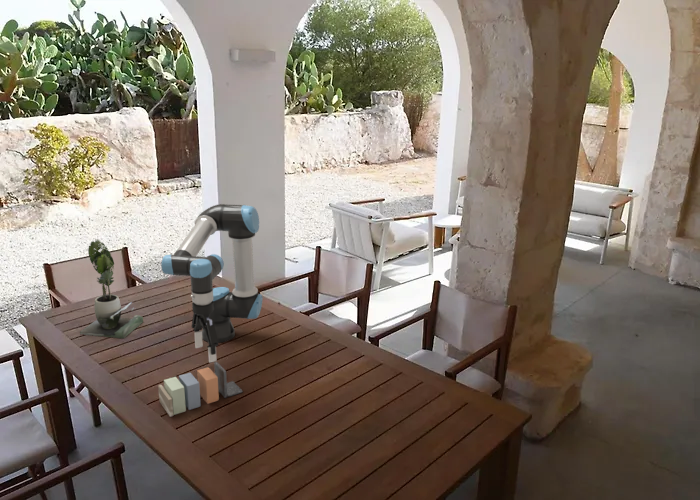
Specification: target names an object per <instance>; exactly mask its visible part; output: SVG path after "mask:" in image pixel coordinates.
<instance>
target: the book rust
mask: <svg viewBox="0 0 700 500" xmlns="http://www.w3.org/2000/svg"><path fill="white" fill-rule="evenodd" d="M196 374H197V381H198V382H199V387H200V398H202V399H203V400H204V402H205V403H206V404H207V405H209V404H212V403H214V402H217V401H219V399H220V397H219V395H220V392H219V391H218V377H217V376H216V375H215V372H214V371H213V370H212V369H211V368H209V367H205V368H204V367H203V368H201V369H197V370H196Z"/></svg>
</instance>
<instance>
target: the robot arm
mask: <svg viewBox="0 0 700 500" xmlns="http://www.w3.org/2000/svg"><path fill="white" fill-rule="evenodd" d="M259 229H260V218H259V213H258V211H257V209H256V208H255V207H254V206H252V205H246V204H225V203H220V204H215V205H212V206H210V207H208V208H206V209H205V210H203V211H202V212H201V213H200V214H199V215H198V216H197V217H196V219H195V220H194V226H192V229H191V230H190V231H189V233H188V234H187V235H186V237H185V238H184V240H183V241H182V242H181V244H180V245H179V246H178V248H177V250H175V252H174V253H173V254H166V255H164V256H163V257H162V260H161V265H160V266H161V271H162V272H163V274H165V275H171V276H188V277H190V286H191V289H190V290H191V295H190V298H191V301H192V306H191V308H192V313H193V315H192V316H193V317H192V320H191V321H192V322H191V328H192V329H193V332H194V345H195V346H194V348H195V349H199V348H202V347H203V346H204V345H203V343H204V342H203V341H205V342H207V343H208V345H207V352H208V354H207V355H208V363H214V362H216V361H217V347H218V346H220V345H219V344H220V343H224V342H228V341H230V340H232V339H233V338H235V335H236V333H235V328H234V325H233V323H232V320H231V318H235V319H246V320H249V319H250V320H255V319H257V318H258V317H259V316H260V313H261V310H262V306H263V300H264V299H263V295H262V294H261V293H259V289H258V288H257V286H255V276H254V275H255V274H254V254H253V253H254V252H253V239H254V237H255V236H256V234H257V232H259ZM221 231H222V232H227V235H228V238H229V239H231V241H232V256H233V270H234V273H233V274H234V288H233V289H232V291H230V289H229V287H226V286H218V287H214V288H213V280H214V279H215V278H217V276H218V275H220V274H221V272H222V270H223V269H224V264H225V262H224V260H223V259H224V258H222V257H221V256H220V255H219V254H215V253H212V254H210V255H207V256H198V255H199V253H200V251H201V250H202V249H203V247H204V245H205V244H206V243H207V241H208V240H209V238H210V236H211V235H214V234H215V233H216V232H221ZM217 362H218V361H217Z"/></svg>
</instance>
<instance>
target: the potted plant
mask: <svg viewBox="0 0 700 500" xmlns="http://www.w3.org/2000/svg"><path fill="white" fill-rule="evenodd" d="M87 248H88V249H87V251H88V252H87V253H88V256H89V260H90V262H91V264H92V265H93V269H94V270H95V271H96V272H97V274H99V275H100V276H99V277H96V282H97V283H98V284H100V285H101V289H102V295H99V296H97V297H95V299H94V306H93V307H94V315H95V318H96V320H94V321H93V322H92V323H90V324H89V325H87V326H86V327H84V328H83V329H81V330H80V331H79V334H80V335H81V334H84V336H92V335H93V337H94V336H95V337H102V336H104V337H103V338H112V337H113V338H115V339H124V338H126V337H127V336H128V335H130V334H131V332H134V331H135V329H137V328H138V327H139V326H141V325H142V323H144V316H141V315H138V314H136V315H134V316H133V317H132V318H129V317H121V316H122V312H123V311H125V312H126V310H127V309H128V308H129V307H130V306H131V305H132V303H133V302H132V301H131V302H129V303H128V304H127V305H125V306H124V307H122V305H121V301H120V300H121V299H120V298H119V296H118V295H116V294H112V293H111V288H110V285H112V284H113V283H114V282H115V280H114V277H113V275H114V270H113V269H115V268H114V265H115V262H114V259H113V256H112V253H111V251H110V250H109V249H108V246H107V245H106V244H104V242H101V240H100V239H98V238H97V239H95V240H94V241H93V240H92V241H91V242H90V244H89V245H88V247H87ZM107 290H108V294H107ZM134 309H135V307H132V308H131V311H132V312H133V310H134ZM124 340H125V339H124Z"/></svg>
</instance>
